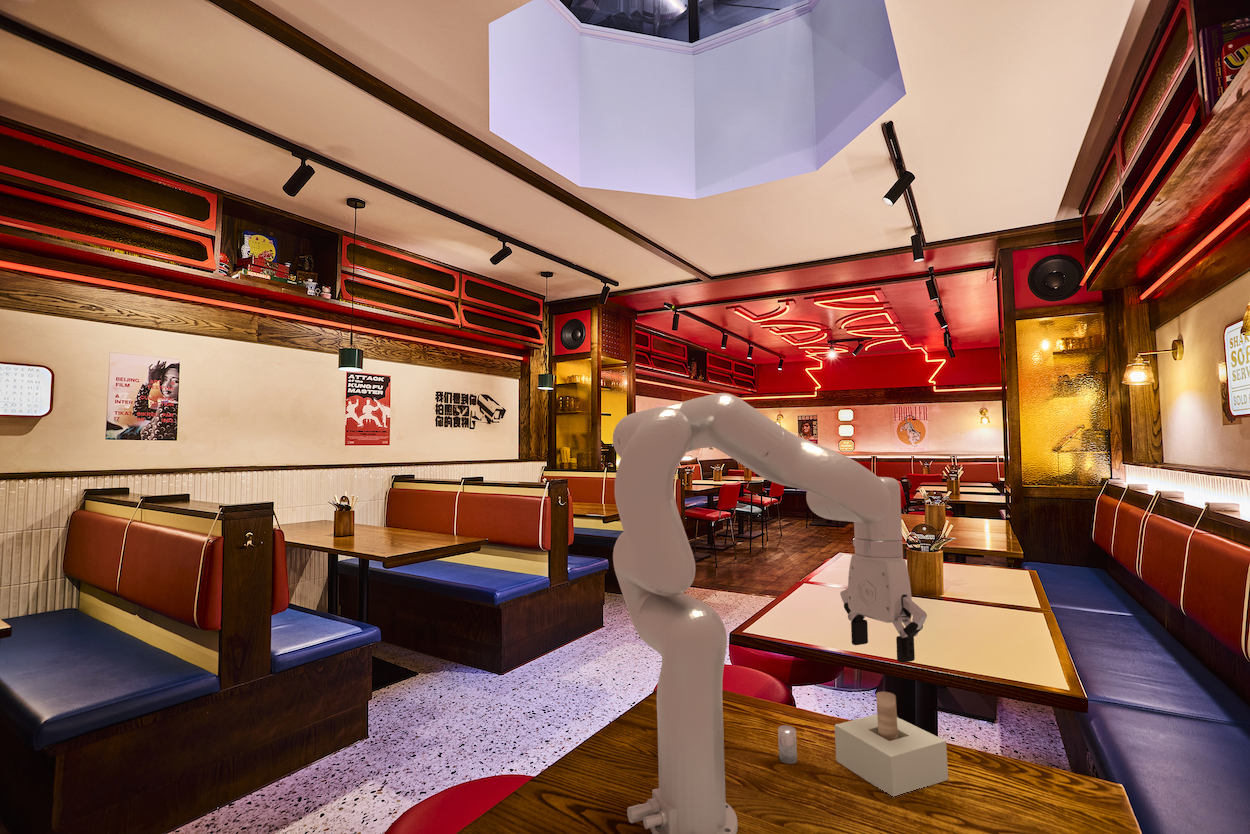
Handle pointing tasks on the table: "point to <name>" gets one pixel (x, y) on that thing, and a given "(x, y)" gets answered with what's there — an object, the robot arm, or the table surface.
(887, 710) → the birch pin
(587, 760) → the table surface
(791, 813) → the table surface
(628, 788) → the table surface
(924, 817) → the table surface
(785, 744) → the steel stub
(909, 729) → the hole block
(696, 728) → the robot arm
